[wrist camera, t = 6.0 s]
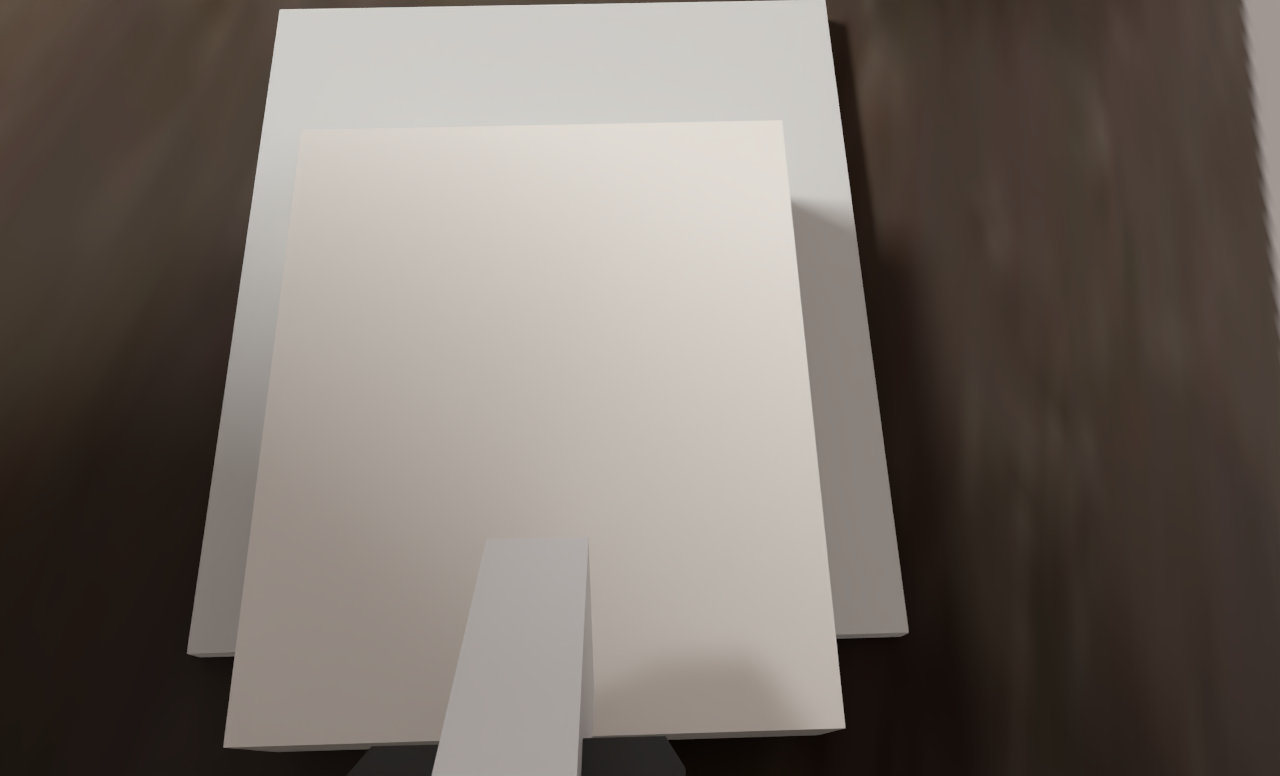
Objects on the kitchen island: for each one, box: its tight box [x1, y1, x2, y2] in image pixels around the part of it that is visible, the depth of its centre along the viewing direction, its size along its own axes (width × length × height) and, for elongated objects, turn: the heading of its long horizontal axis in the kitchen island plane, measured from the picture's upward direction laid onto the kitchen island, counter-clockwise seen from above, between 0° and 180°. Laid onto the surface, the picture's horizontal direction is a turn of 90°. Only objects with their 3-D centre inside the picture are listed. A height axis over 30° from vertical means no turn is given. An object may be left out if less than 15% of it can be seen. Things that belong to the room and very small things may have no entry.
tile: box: [223, 120, 845, 752], centre depth 19 cm, size 3×10×12 cm
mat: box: [187, 0, 909, 657], centre depth 22 cm, size 16×14×1 cm
